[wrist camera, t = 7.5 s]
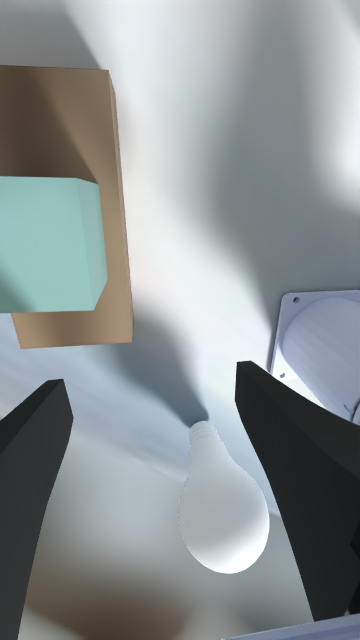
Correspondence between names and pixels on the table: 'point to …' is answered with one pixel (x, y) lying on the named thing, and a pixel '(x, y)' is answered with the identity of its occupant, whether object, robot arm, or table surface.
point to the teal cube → (50, 245)
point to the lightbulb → (220, 506)
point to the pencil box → (70, 162)
